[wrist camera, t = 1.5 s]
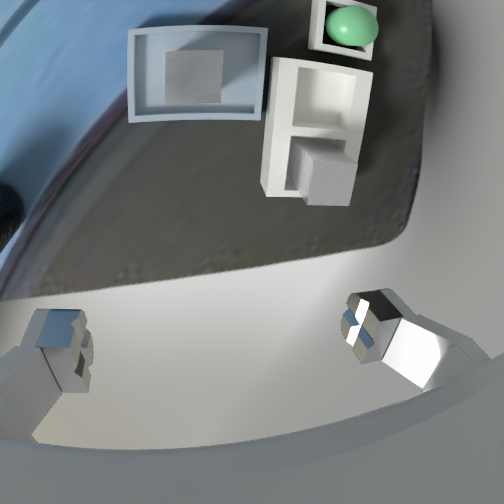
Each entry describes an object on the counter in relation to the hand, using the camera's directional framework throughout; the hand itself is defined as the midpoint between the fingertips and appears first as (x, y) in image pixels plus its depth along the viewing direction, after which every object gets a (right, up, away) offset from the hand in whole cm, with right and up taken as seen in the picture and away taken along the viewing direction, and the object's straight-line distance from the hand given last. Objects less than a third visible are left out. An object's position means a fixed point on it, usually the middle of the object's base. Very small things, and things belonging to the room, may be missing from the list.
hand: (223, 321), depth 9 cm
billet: (-4, +18, +16) cm, 24 cm away
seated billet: (+7, +12, +22) cm, 26 cm away
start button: (+10, +23, +14) cm, 29 cm away
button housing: (+9, +24, +15) cm, 30 cm away
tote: (-4, +19, +17) cm, 25 cm away
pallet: (+7, +15, +21) cm, 27 cm away
